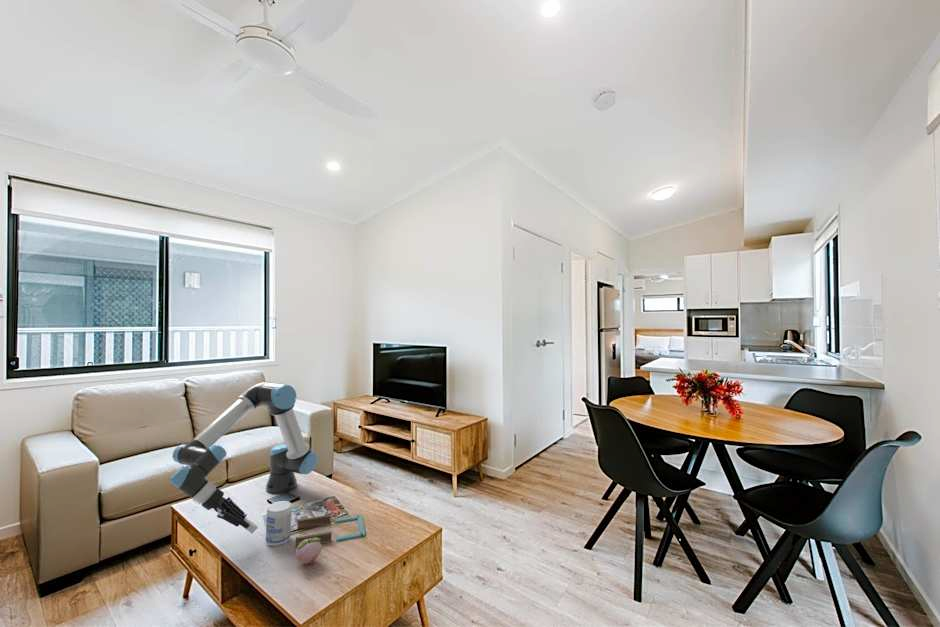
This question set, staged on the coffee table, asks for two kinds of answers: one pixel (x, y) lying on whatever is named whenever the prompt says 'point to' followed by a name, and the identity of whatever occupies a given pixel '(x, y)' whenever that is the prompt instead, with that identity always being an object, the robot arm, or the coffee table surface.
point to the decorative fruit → (308, 550)
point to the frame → (350, 536)
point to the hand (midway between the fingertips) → (254, 530)
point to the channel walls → (311, 523)
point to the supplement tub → (278, 523)
